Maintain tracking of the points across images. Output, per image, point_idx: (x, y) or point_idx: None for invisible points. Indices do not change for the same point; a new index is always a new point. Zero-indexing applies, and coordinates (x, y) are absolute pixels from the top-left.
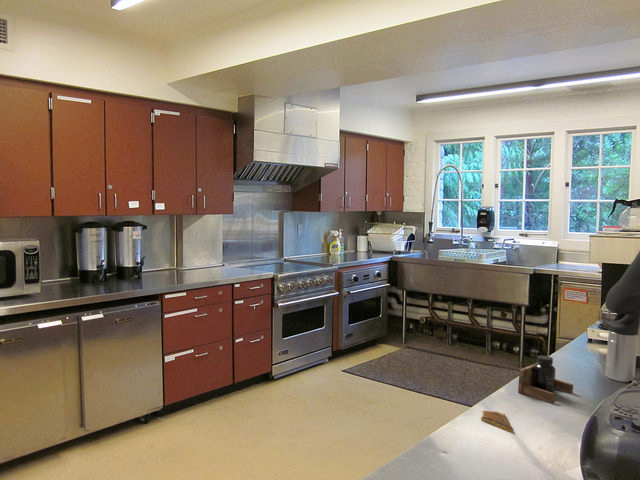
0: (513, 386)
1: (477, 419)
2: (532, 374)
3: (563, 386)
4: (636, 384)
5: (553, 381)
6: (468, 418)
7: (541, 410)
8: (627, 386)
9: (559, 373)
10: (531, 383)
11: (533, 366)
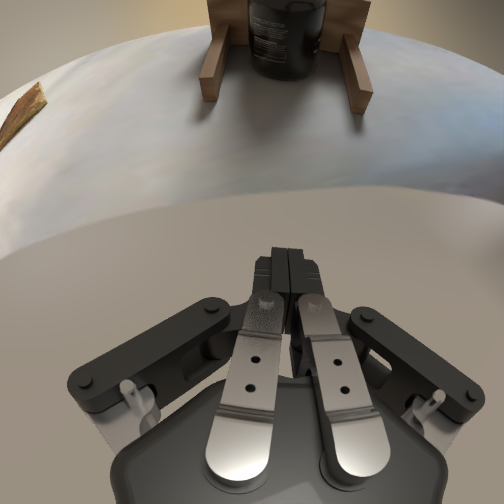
0: None
1: None
2: None
3: (351, 80)
4: (111, 467)
5: (282, 43)
6: (22, 91)
7: (122, 113)
8: (235, 355)
9: (452, 79)
10: None
11: None
